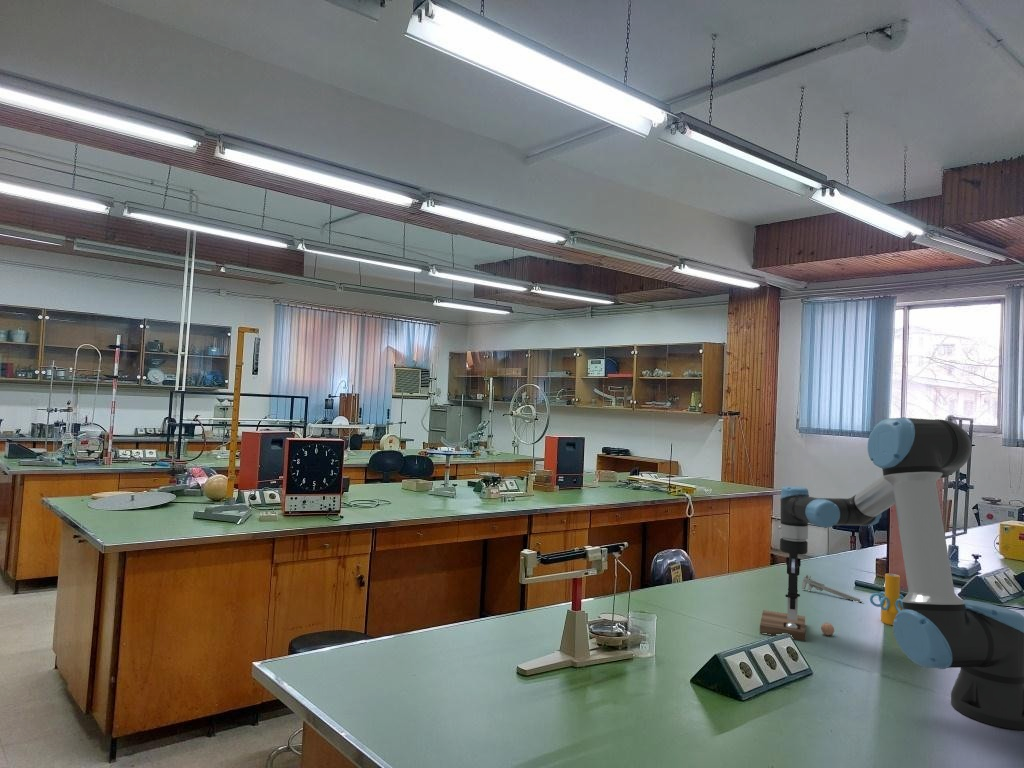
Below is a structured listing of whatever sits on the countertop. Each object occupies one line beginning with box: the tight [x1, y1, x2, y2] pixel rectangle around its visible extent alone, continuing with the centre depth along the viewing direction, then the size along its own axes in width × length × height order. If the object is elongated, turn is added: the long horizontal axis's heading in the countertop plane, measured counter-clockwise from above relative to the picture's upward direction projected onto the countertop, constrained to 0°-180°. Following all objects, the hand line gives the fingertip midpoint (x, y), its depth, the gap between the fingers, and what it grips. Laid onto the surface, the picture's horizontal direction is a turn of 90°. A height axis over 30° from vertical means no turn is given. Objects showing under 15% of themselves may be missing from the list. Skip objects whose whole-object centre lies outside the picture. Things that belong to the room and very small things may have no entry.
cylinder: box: [869, 572, 905, 626], centre depth 200 cm, size 12×10×15 cm
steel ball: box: [785, 622, 798, 629], centre depth 185 cm, size 4×4×4 cm
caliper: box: [801, 574, 864, 603], centre depth 228 cm, size 20×1×6 cm, turn 46°
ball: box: [820, 622, 835, 637], centre depth 185 cm, size 4×4×4 cm
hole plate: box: [759, 609, 806, 642], centre depth 189 cm, size 16×12×2 cm
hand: (792, 619), depth 187 cm, fingers closed
